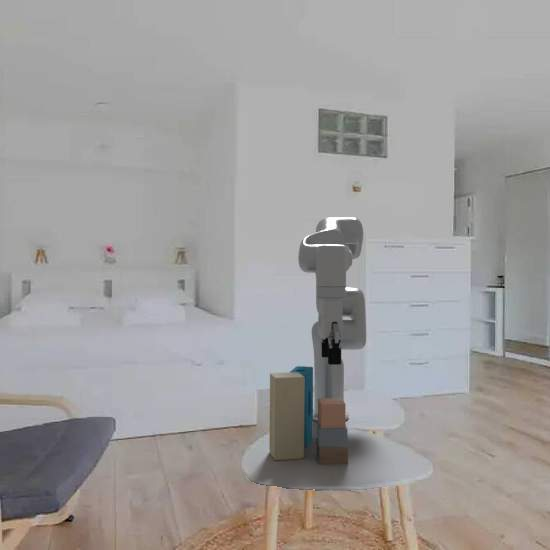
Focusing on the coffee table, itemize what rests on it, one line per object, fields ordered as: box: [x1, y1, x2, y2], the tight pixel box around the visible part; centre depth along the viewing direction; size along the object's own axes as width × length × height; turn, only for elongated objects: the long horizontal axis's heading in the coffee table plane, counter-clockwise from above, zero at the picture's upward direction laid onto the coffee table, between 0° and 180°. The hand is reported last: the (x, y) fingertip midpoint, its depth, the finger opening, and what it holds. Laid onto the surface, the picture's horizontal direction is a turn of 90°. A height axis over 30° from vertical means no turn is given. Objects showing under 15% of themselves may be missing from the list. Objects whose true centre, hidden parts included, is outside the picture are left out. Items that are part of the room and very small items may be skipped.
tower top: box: [317, 422, 348, 447], centre depth 137 cm, size 7×7×4 cm
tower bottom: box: [316, 437, 349, 466], centre depth 137 cm, size 7×7×4 cm
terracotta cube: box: [317, 398, 346, 428], centre depth 137 cm, size 6×6×6 cm
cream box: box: [268, 372, 305, 461], centre depth 140 cm, size 8×7×21 cm
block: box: [288, 365, 314, 448], centre depth 150 cm, size 12×5×20 cm, turn 165°
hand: (331, 360), depth 137 cm, fingers open, 9 cm apart
